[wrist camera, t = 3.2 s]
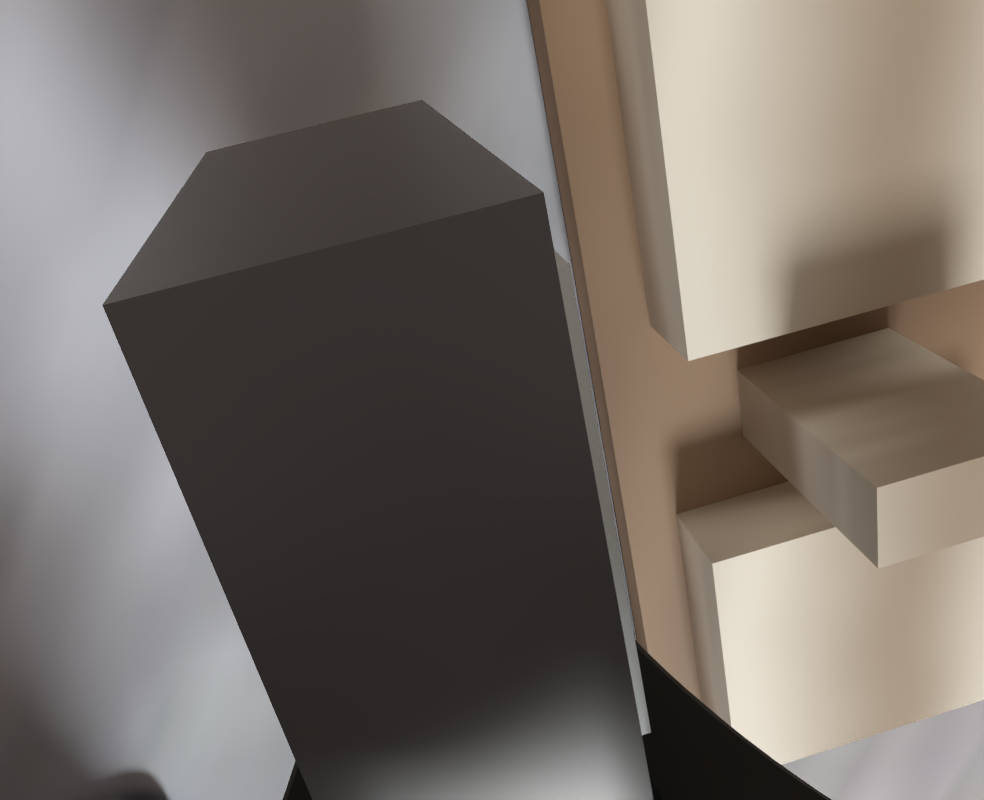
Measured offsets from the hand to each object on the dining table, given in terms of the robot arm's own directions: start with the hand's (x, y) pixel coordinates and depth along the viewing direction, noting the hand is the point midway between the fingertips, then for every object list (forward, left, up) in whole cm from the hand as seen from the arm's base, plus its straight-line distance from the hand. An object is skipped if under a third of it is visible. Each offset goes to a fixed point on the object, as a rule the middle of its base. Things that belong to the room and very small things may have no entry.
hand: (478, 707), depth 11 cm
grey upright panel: (0, 0, -2) cm, 2 cm away
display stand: (+8, 0, -6) cm, 10 cm away
